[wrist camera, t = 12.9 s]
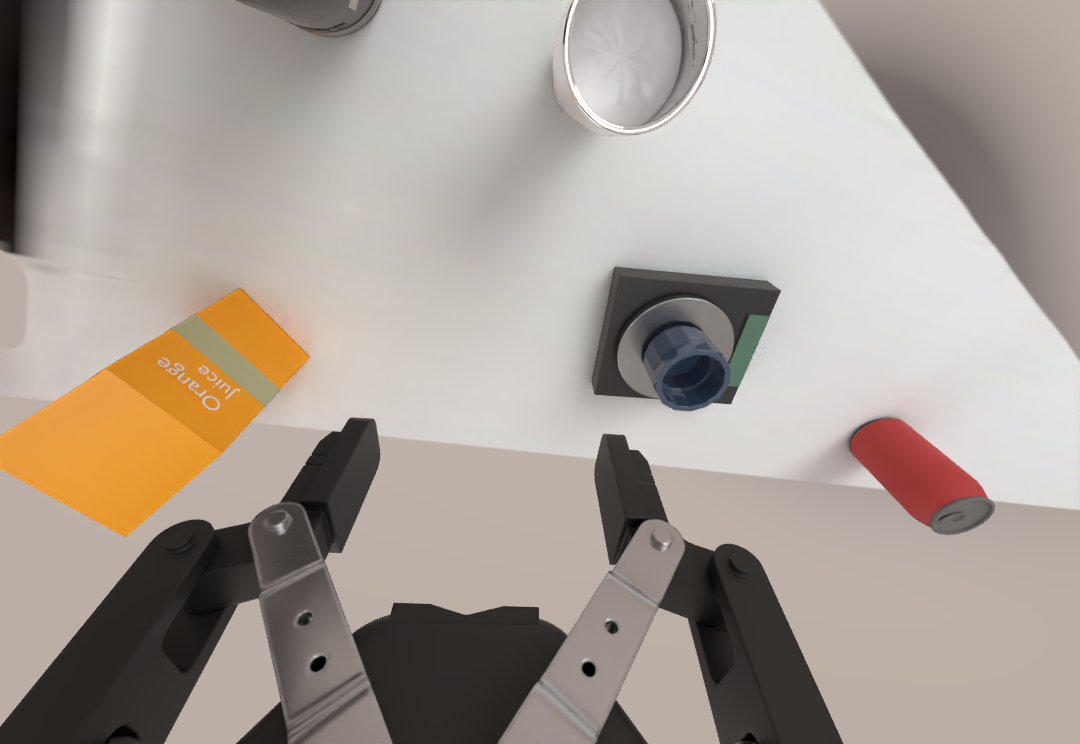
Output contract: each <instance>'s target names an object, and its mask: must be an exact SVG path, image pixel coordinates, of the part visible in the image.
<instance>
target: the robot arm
mask: <svg viewBox="0 0 1080 744" xmlns="http://www.w3.org/2000/svg"><path fill="white" fill-rule="evenodd" d="M235 1H238V2H240V3H243V4H245V5H248V6H250V7H253V8H255V9H258V10H260V11H263V12H265V13H268V14H270V15H273V16H275V17H278V18H280V19H283V20H285V21H287V22H290V23H291V24H294V25H296V26H298V27H299V28H302V29H304V30H306V31H309V32H312V33H315V34H318V35H322V36H331V37H335V36H343V35H347V34H350V33H353V32H355V31H357V30H358V29H360V28H361V27H363V26H364V25H365V24H366V23H367V22H368V21H369V20H370V19H371V18H372V17H373V15H374V14H375V12H376V11H377V9H378V7H379V5H380V3H381V0H235ZM379 461H380V447H379V441H378V434H377V428H376V422H375V420H374V419H368V418H350V419H349V420H348V421H347V423H346V425H345V426H344V428H343V430H342V431H341V432H334V431H333V432H331V433H330V434H329V435H327V436H326V437H325V438H324V439H322V440H321V441H320V442H319V443H318V445H317V446H316V448H315V449H314V451H313V453H312V456H310V457H309V459H308V460H307V462H306V465H305V466H303V468H302V469H301V471H300V473H299V474H298V476H297V477H296V479H295V480H294V482H293V483H292V485H291V486H290V488H289V490H288V491H287V493H286V494H285V496H284V497H283V499H282V500H281V502H280V503H278V504H276V505H272V506H270V507H268V508H266V509H265V510H263V511H262V512H260V513H259V514H258V515H257V516H256V517H255V518H254V519H253V520H252V522H250V523H246V524H242V525H237V526H232V527H228V528H223V529H219V530H214V528H213V527H212V525H211V524H210V523H209V522H207V521H204V520H188V521H184V522H181V523H178V524H176V525H173V526H171V527H169V528H168V529H166V530H164V531H163V532H161V533H160V534H159V535H158V536H156V537H155V538H154V539H153V540H152V541H151V542H150V544H149V545H148V546H147V547H146V548H145V550H144V551H143V552H142V553H141V555H140V556H139V557H138V558H137V559H136V561H135V562H134V563H133V564H132V566H131V567H130V568H129V569H128V571H127V572H126V573H125V574H124V575H123V577H122V578H121V579H120V580H119V582H118V583H117V584H116V585H115V587H114V588H113V589H112V590H111V591H110V593H109V594H108V595H107V596H106V598H105V599H104V600H103V601H102V603H101V604H100V605H99V606H98V607H97V609H96V610H95V611H94V612H93V614H92V615H91V616H90V617H89V619H88V620H87V621H86V622H85V623H84V625H83V626H82V627H81V628H80V629H79V631H78V632H77V633H76V635H75V636H74V637H73V638H72V639H71V641H70V642H69V643H68V644H67V645H66V647H65V648H64V649H63V650H62V652H61V653H60V654H59V655H58V657H57V658H56V659H55V660H54V661H53V663H52V664H51V665H50V666H49V668H48V669H47V670H46V671H45V672H44V674H43V675H42V676H41V677H40V679H39V680H38V681H37V682H36V683H35V685H34V686H33V687H32V688H31V690H30V691H29V692H28V693H27V695H26V696H25V697H24V698H23V699H22V701H21V702H20V703H19V704H18V706H17V707H16V708H15V709H14V711H13V712H12V713H11V714H10V715H9V717H8V718H7V719H6V720H5V722H4V723H3V724H2V725H1V727H0V744H164V742H165V741H166V738H167V737H168V735H169V733H170V731H171V729H172V727H173V726H174V724H175V722H176V720H177V718H178V716H179V714H180V712H181V711H182V709H183V707H184V705H185V703H186V701H187V699H188V697H189V696H190V694H191V692H192V690H193V688H194V686H195V684H196V682H197V681H198V678H199V677H200V675H201V673H202V671H203V669H204V667H205V665H206V664H207V662H208V660H209V658H210V656H211V654H212V652H213V651H214V648H215V647H216V645H217V643H218V641H219V639H220V637H221V636H222V634H223V632H224V630H225V628H226V626H227V624H228V622H229V621H230V619H231V617H232V615H233V613H234V611H235V609H236V607H237V606H238V604H239V603H242V602H246V601H250V600H254V599H257V598H259V602H260V607H261V612H262V616H263V621H264V625H265V630H266V634H267V639H268V644H269V648H270V652H271V658H272V662H273V667H274V671H275V676H276V681H277V685H278V690H279V694H280V699H281V701H280V702H279V703H278V704H277V705H276V706H275V707H274V708H273V709H272V710H271V711H270V712H269V713H268V714H267V715H266V716H265V717H264V718H262V720H261V721H259V722H258V723H257V724H256V725H255V726H254V727H253V728H252V729H251V730H250V731H249V732H248V733H247V734H246V735H245V736H244V737H243V738H241V740H239V742H237V743H236V744H648V743H647V742H646V741H645V739H644V738H643V736H642V735H641V734H640V732H639V731H638V730H637V728H636V727H635V725H634V724H633V723H632V721H631V720H630V718H629V717H628V716H627V714H626V713H625V712H624V710H623V709H622V707H621V706H620V705H619V703H618V702H617V701H616V698H617V696H618V694H619V691H620V689H621V687H622V685H623V683H624V681H625V679H626V676H627V674H628V672H629V670H630V668H631V666H632V663H633V661H634V659H635V657H636V655H637V653H638V651H639V649H640V646H641V644H642V642H643V640H644V638H645V636H646V634H647V631H648V629H649V627H650V625H651V623H652V621H653V618H654V616H655V614H656V612H657V610H658V608H662V609H664V610H667V611H670V612H672V613H675V614H678V615H680V616H683V617H685V618H688V621H689V625H690V629H691V633H692V637H693V640H694V644H695V648H696V652H697V656H698V659H699V664H700V668H701V671H702V675H703V679H704V683H705V687H706V690H707V695H708V699H709V702H710V706H711V710H712V714H713V718H714V722H715V725H716V729H717V733H718V737H719V741H720V744H843V742H842V740H841V738H840V735H839V733H838V731H837V729H836V727H835V724H834V722H833V720H832V718H831V716H830V713H829V711H828V709H827V707H826V705H825V702H824V700H823V698H822V696H821V694H820V692H819V689H818V687H817V685H816V683H815V680H814V678H813V676H812V674H811V672H810V670H809V667H808V665H807V663H806V661H805V659H804V656H803V654H802V652H801V650H800V648H799V645H798V643H797V641H796V639H795V637H794V634H793V633H792V630H791V628H790V626H789V623H788V621H787V619H786V617H785V615H784V613H783V611H782V608H781V606H780V604H779V602H778V599H777V597H776V595H775V593H774V591H773V588H772V586H771V584H770V582H769V580H768V577H767V575H766V573H765V571H764V569H763V567H762V565H761V563H760V562H759V560H758V559H757V558H756V557H755V556H754V555H753V554H752V553H750V552H749V551H748V550H746V549H744V548H742V547H740V546H737V545H734V544H723V545H720V546H719V547H718V548H717V549H716V550H715V551H711V550H709V549H706V548H703V547H700V546H697V545H694V544H692V543H689V542H687V541H686V540H684V539H683V537H682V535H681V534H680V532H679V531H677V529H676V528H675V527H673V526H672V525H670V524H669V522H668V520H667V517H666V514H665V511H664V508H663V505H662V502H661V499H660V496H659V493H658V490H657V487H656V486H655V482H654V479H653V476H652V475H651V474H652V473H651V470H650V467H649V464H648V461H647V460H646V459H645V458H644V456H643V455H642V454H641V453H640V452H639V451H638V450H629V447H628V444H627V441H626V437H625V436H624V435H614V434H603V436H602V438H601V443H600V447H599V451H598V455H597V459H596V463H595V473H594V476H595V485H596V490H597V496H598V501H599V507H600V513H601V518H602V524H603V529H604V535H605V541H606V547H607V551H608V557H609V563H610V565H616V566H615V567H614V569H613V570H612V571H609V572H608V573H607V574H606V576H605V578H604V579H603V580H602V582H601V584H600V585H599V587H598V588H597V590H596V592H595V594H594V595H593V596H592V598H591V600H590V601H589V603H588V604H587V606H586V608H585V609H584V611H583V612H582V614H581V616H580V617H579V619H578V620H577V622H576V624H575V625H574V627H573V628H572V630H571V631H570V633H569V635H567V634H566V633H564V632H563V631H562V630H561V629H559V628H558V627H556V626H555V625H553V624H551V623H549V622H547V621H544V620H541V619H539V608H538V607H510V606H509V607H508V606H503V607H499V608H495V609H490V610H486V611H482V612H478V613H474V614H470V615H463V614H460V613H456V612H453V611H450V610H447V609H444V608H441V607H438V606H434V605H432V604H413V603H394V604H393V608H392V611H391V615H388V616H384V617H381V618H379V619H376V620H374V621H372V622H370V623H368V624H366V625H364V626H363V627H361V628H360V629H358V630H356V631H355V632H354V633H353V634H351V631H350V628H349V625H348V623H347V620H346V617H345V615H344V612H343V609H342V606H341V604H340V601H339V598H338V595H337V593H336V590H335V587H334V584H333V582H332V579H331V576H330V574H329V571H328V568H327V566H326V563H325V559H326V557H327V555H328V553H330V552H331V553H341V552H342V550H343V548H344V546H345V543H346V541H347V539H348V536H349V534H350V532H351V529H352V527H353V525H354V523H355V520H356V518H357V516H358V513H359V511H360V509H361V506H362V504H363V502H364V499H365V497H366V495H367V492H368V490H369V487H370V485H371V483H372V481H373V478H374V476H375V474H376V471H377V469H378V466H379Z"/></svg>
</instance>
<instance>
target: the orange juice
mask: <svg viewBox="0 0 1080 744" xmlns="http://www.w3.org/2000/svg"><path fill="white" fill-rule="evenodd" d="M309 357H310V356H309V355H308V354H307V353H306V352H305V351H304V350H303V349H302V348H301V347H300V346H299V345H298V344H297V343H295V342H294V341H293V340H292V339H291V338H290V337H289V336H288V335H287V334H286V333H285V332H284V331H283V330H282V329H281V328H280V327H279V326H278V325H277V324H276V323H275V322H274V321H273V320H272V319H271V318H270V317H269V316H268V315H267V314H266V313H265V312H264V311H263V310H262V309H261V308H260V307H259V306H258V305H257V304H256V303H255V302H254V301H253V300H252V299H251V298H250V297H249V296H248V295H247V294H246V293H245V292H244V291H243V290H241V289H240V288H239V289H238V290H236V291H234V292H233V293H231V294H229V295H228V296H226V297H224V298H222V299H221V300H219V301H217V302H216V303H214V304H212V305H211V306H209V307H207V308H206V309H204V310H202V311H201V312H199V313H197V314H194V315H193V316H191V317H189V318H188V319H186V320H184V321H183V322H181V323H179V324H177V325H176V326H174V327H172V328H171V329H169V330H168V331H167V332H165V333H164V334H162V335H160V336H159V337H157V338H155V339H153V340H152V341H150V342H148V343H147V344H144V345H143V346H142V347H139V348H138V349H137V350H135V351H133V352H132V353H130V354H128V355H126V356H125V357H123V358H121V359H119V360H118V361H116V362H115V363H113V364H111V365H110V366H108V367H106V368H105V369H103V370H101V371H100V372H99V373H97V374H96V375H94V376H93V377H91V378H90V379H89V380H87V381H86V382H84V383H83V384H81V385H80V386H78V387H77V388H75V389H73V390H72V391H70V392H69V393H67V394H66V395H64V396H62V397H61V398H59V399H58V400H56V401H54V402H53V403H51V404H50V405H48V406H46V407H45V408H43V409H42V410H40V411H39V412H37V413H35V414H34V415H32V416H31V417H29V418H27V419H26V420H24V421H23V422H21V423H19V424H18V425H16V426H15V427H13V428H12V429H10V430H8V431H7V432H5V433H4V434H2V435H0V469H1V470H3V471H5V472H7V473H9V474H10V475H12V476H14V477H16V478H18V479H20V480H21V481H23V482H25V483H27V484H29V485H31V486H33V487H34V488H36V489H38V490H40V491H42V492H44V493H45V494H47V495H49V496H51V497H53V498H55V499H56V500H58V501H60V502H62V503H64V504H66V505H67V506H69V507H71V508H73V509H75V510H77V511H78V512H81V513H82V514H84V515H86V516H88V517H90V518H91V519H93V520H95V521H97V522H99V523H101V524H102V525H104V526H106V527H108V528H110V529H112V530H114V531H115V532H117V533H119V534H121V535H123V536H124V537H126V536H127V535H128V534H129V533H131V532H132V531H133V530H134V529H135V528H136V527H138V526H139V525H140V524H141V523H142V522H143V521H144V520H146V519H147V518H148V517H149V516H150V515H151V514H153V513H154V512H155V511H156V510H157V509H158V508H160V507H161V506H162V505H163V504H164V503H165V502H166V501H168V500H169V499H170V498H171V497H172V496H173V495H175V494H176V493H177V492H178V491H179V490H180V489H181V488H182V487H184V486H185V485H186V484H187V483H188V482H189V481H191V480H192V479H193V478H194V477H195V476H196V475H198V474H199V473H200V472H201V471H202V470H203V469H204V468H206V467H207V466H208V465H209V464H210V463H211V462H213V461H214V460H215V459H216V458H217V457H219V456H220V455H221V454H222V453H223V452H224V450H226V448H227V447H228V446H229V445H230V444H231V443H232V442H233V441H234V440H235V439H236V437H237V436H238V435H239V434H240V433H241V432H242V431H243V430H244V429H245V428H246V426H247V425H248V424H249V423H250V422H251V421H252V420H253V419H254V418H255V417H256V416H257V414H258V413H259V412H260V411H261V410H262V409H263V408H264V407H266V405H267V404H268V403H269V402H270V401H271V400H272V399H273V398H274V397H275V396H276V394H277V393H278V392H279V391H280V389H281V388H282V387H283V386H284V385H285V384H286V383H287V382H288V380H289V379H290V378H291V377H292V376H293V375H294V374H295V373H296V372H297V371H298V369H299V368H300V367H301V366H302V365H303V364H304V363H305V362H306V361H307V360H308V358H309Z"/></svg>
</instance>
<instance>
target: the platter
mask: <svg viewBox="0 0 1080 744" xmlns="http://www.w3.org/2000/svg"><path fill="white" fill-rule="evenodd" d="M678 326H686V327H695V328H697V329H698V330H700V331H702V332H703V333H705V334H706V335H707V336H708V337H709V339H710V340H711V341H712V342H713V344H714V345H715V346H716V347H717V348H718V350H719V351H720V352H721V353H722V355H723V356H724V357H725V358H726V360H727V362H728V361H729V359H730V357H731V354H732V351H733V346H734V331H733V327H732V324H731V322H730V320H729V318H728V317H727V316H726V314H725V313H724V312H723V311H722V310H721V309H720V308H719V307H718V306H717V305H715V304H714V303H713V302H711V301H709V300H707V299H705V298H701V297H698V296H692V295H677V296H671V297H666V298H663V299H660V300H657V301H655V302H653V303H651V304H649V305H648V306H646V307H644V308H643V309H642V310H640V311H639V312H638V313H637V314H635V315H634V316H633V317H632V318H631V320H630V321H629V322H628V323H627V325H626V326H625V328H624V329H623V331H622V333H621V335H620V337H619V340H618V344H617V349H616V359H617V365H618V368H619V371H620V373H621V375H622V377H623V379H624V380H625V382H626V383H627V384H628V385H629V386H630V387H631V388H632V389H634V390H635V391H637V392H639V393H640V394H643V395H645V396H648V397H652V398H659V397H658V395H657V393H656V391H655V389H654V387H653V385H652V382H651V380H650V378H649V376H648V374H647V371H646V369H645V366H644V355H645V352H646V350H647V348H648V346H649V344H650V343H651V341H652V340H653V339H655V338H656V337H657V336H658V335H660V334H661V333H662V332H663V331H665V330H668V329H671V328H675V327H678ZM659 399H660V398H659Z"/></svg>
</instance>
